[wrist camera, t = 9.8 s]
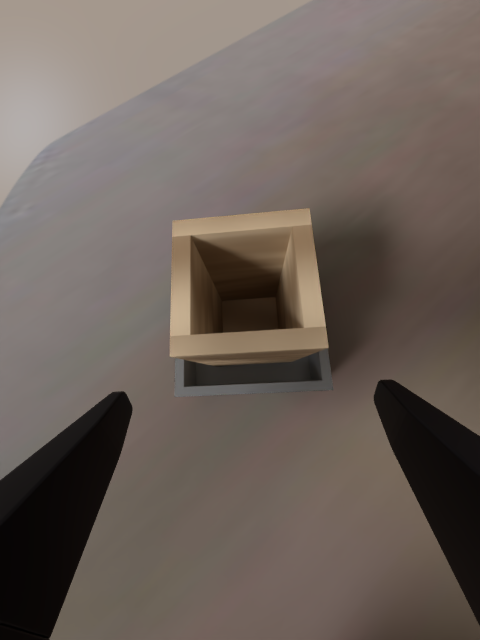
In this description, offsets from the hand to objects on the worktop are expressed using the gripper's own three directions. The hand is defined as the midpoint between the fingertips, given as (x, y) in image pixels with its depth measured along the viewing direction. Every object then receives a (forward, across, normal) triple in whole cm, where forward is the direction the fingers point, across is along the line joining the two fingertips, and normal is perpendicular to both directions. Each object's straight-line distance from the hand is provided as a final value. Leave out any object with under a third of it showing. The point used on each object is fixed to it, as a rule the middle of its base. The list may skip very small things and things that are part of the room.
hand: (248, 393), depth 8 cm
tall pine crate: (+10, 0, +4) cm, 11 cm away
